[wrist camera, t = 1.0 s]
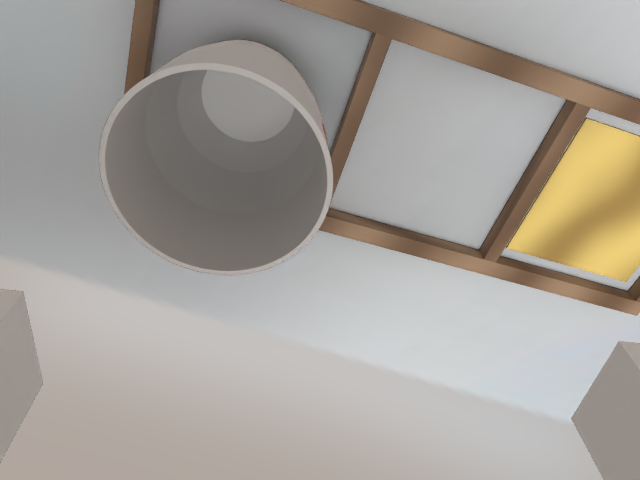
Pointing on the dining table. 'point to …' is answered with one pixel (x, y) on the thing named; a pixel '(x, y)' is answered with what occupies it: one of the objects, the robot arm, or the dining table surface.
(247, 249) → the cup
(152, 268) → the dining table surface
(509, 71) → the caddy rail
